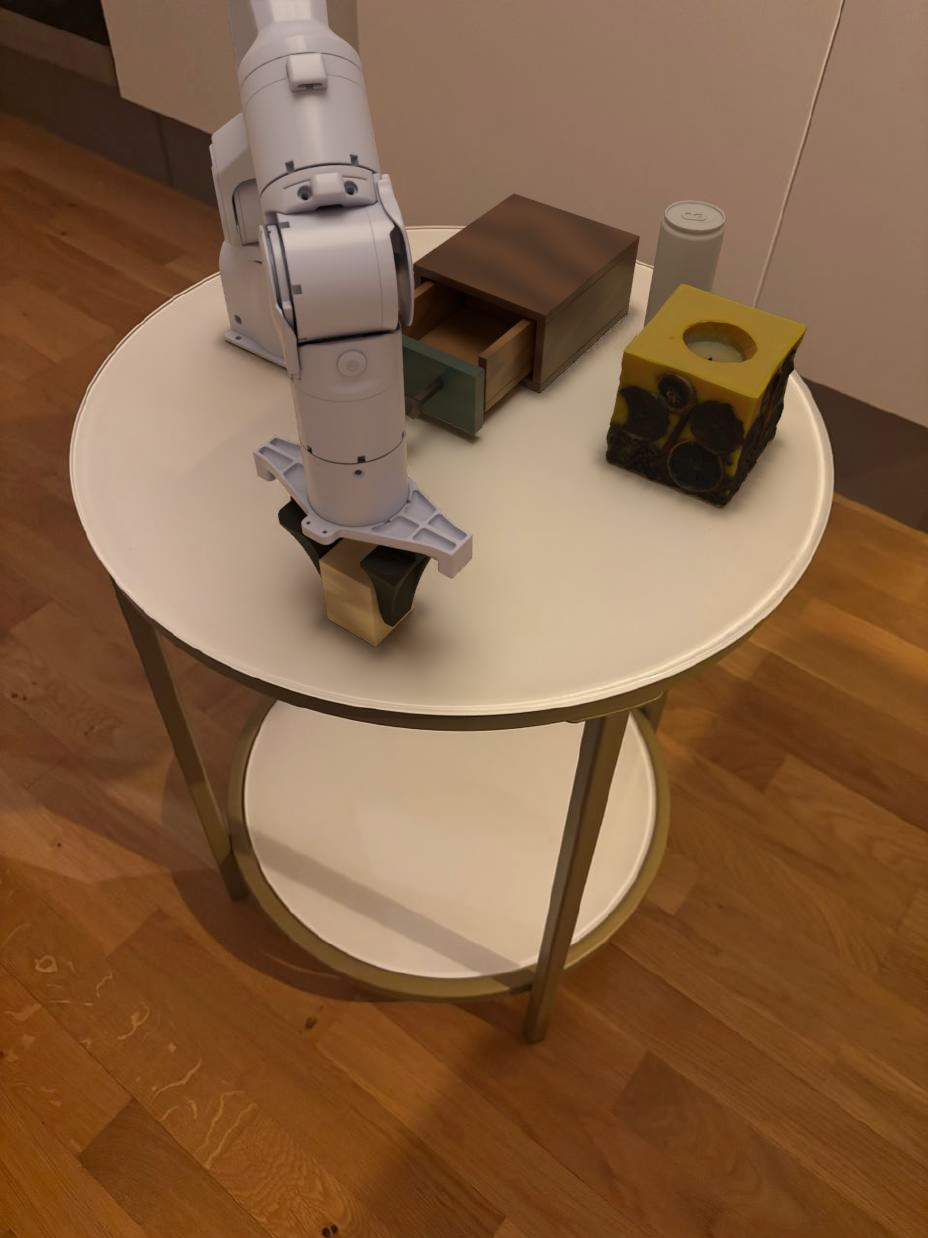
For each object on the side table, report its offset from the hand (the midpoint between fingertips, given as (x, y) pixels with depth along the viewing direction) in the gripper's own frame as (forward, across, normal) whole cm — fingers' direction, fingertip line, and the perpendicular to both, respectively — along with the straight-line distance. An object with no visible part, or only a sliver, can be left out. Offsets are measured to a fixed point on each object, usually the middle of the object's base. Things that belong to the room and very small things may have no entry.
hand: (369, 599), depth 62 cm
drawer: (0, -10, +22) cm, 25 cm away
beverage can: (+2, +2, +38) cm, 38 cm away
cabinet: (+1, -10, +34) cm, 35 cm away
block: (+1, 0, 0) cm, 1 cm away
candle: (+2, +9, +27) cm, 29 cm away
